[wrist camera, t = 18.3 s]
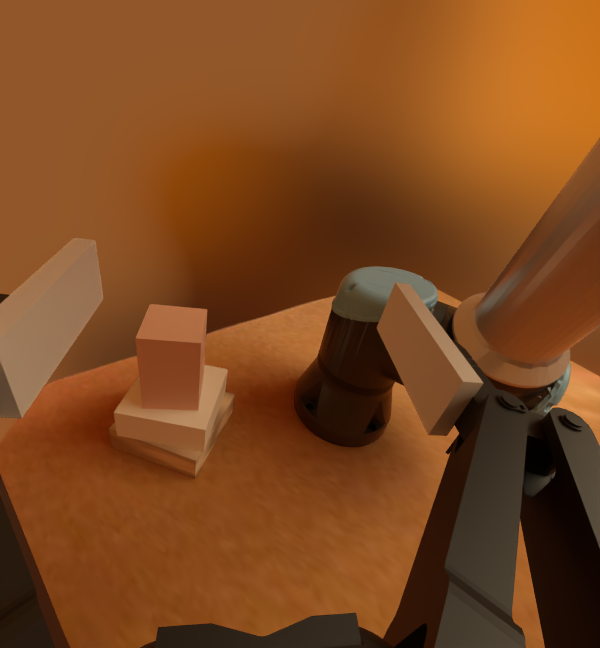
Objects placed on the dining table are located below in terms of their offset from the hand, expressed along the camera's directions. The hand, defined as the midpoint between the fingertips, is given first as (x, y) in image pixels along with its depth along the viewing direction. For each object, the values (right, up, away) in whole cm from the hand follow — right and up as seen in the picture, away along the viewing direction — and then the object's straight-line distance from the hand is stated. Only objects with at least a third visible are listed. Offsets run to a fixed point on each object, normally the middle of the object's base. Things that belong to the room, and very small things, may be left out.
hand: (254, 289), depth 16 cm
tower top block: (-14, -13, +28) cm, 34 cm away
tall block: (-13, -10, +26) cm, 30 cm away
